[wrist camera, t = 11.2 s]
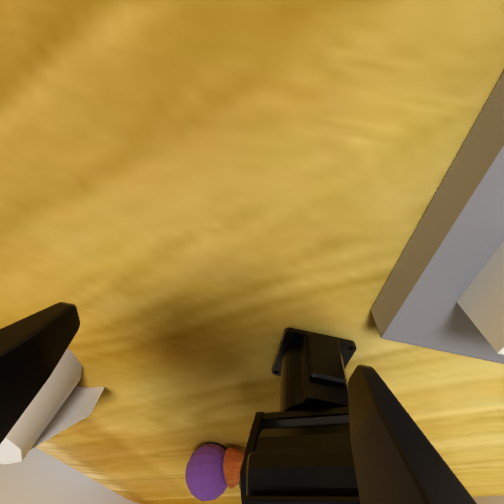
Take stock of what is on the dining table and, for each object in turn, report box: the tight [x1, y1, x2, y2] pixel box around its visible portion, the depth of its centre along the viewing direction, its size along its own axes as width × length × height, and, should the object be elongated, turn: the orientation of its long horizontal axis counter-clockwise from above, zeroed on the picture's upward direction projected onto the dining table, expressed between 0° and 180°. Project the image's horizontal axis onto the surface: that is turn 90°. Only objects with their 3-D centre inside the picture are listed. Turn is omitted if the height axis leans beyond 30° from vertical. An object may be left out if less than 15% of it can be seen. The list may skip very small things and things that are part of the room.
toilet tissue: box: [0, 348, 105, 464], centre depth 28 cm, size 9×13×9 cm
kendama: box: [186, 443, 245, 501], centre depth 34 cm, size 6×6×20 cm
